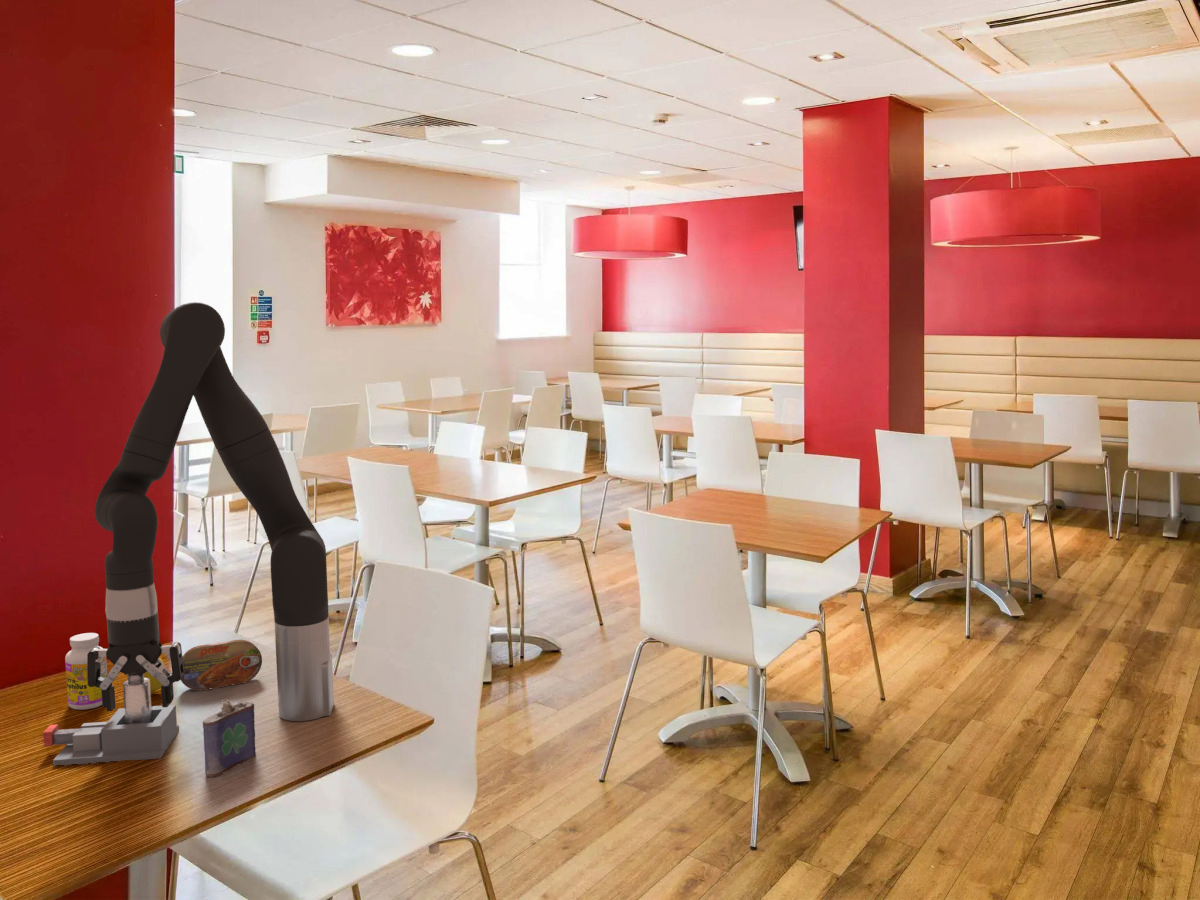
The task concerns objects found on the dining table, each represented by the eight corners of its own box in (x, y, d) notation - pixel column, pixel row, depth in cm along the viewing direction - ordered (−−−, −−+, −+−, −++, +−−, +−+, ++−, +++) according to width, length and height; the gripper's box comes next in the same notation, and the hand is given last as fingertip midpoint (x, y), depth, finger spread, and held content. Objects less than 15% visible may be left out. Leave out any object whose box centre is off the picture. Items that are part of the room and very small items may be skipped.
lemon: (154, 700, 179) (152, 659, 178) (128, 698, 180) (125, 657, 179) (173, 689, 184) (171, 649, 183) (148, 687, 185) (145, 647, 184)
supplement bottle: (60, 707, 176) (54, 639, 174) (91, 695, 182) (86, 629, 180) (86, 713, 173) (81, 644, 172) (117, 700, 179) (112, 633, 178)
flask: (212, 779, 147) (208, 712, 146) (199, 775, 149) (195, 708, 148) (260, 756, 155) (257, 692, 154) (247, 752, 157) (244, 689, 156)
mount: (178, 730, 166) (177, 702, 165) (160, 758, 155) (159, 728, 154) (78, 737, 163) (76, 709, 162) (53, 766, 152) (51, 736, 152)
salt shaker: (156, 734, 162) (152, 668, 160) (149, 744, 158) (145, 676, 156) (131, 736, 161) (126, 669, 159) (123, 746, 157) (118, 678, 156)
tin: (180, 694, 182) (177, 651, 181) (178, 688, 185) (176, 646, 184) (263, 680, 189) (261, 639, 188) (261, 675, 192) (259, 634, 191)
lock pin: (111, 735, 160) (110, 720, 160) (105, 742, 157) (104, 728, 157) (51, 739, 158) (50, 724, 158) (44, 747, 155) (43, 732, 155)
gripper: (184, 603, 161) (190, 696, 163) (93, 607, 159) (100, 702, 161) (172, 616, 154) (178, 713, 156) (76, 621, 152) (84, 719, 154)
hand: (138, 707), depth 159 cm, fingers open, 8 cm apart
